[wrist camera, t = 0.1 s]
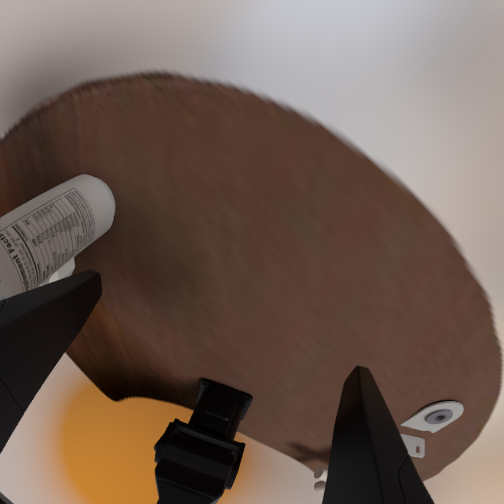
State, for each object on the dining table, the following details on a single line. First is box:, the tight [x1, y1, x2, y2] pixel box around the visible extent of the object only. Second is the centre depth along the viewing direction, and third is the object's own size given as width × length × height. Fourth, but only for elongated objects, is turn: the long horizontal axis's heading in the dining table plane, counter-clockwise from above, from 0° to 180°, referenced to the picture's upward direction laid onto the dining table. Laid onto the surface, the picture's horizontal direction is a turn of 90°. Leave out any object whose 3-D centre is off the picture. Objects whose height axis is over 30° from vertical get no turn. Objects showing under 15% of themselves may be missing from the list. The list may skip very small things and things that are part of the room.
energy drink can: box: [0, 174, 115, 300], centre depth 21 cm, size 6×6×15 cm
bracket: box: [400, 401, 463, 458], centre depth 30 cm, size 7×10×4 cm, turn 161°
